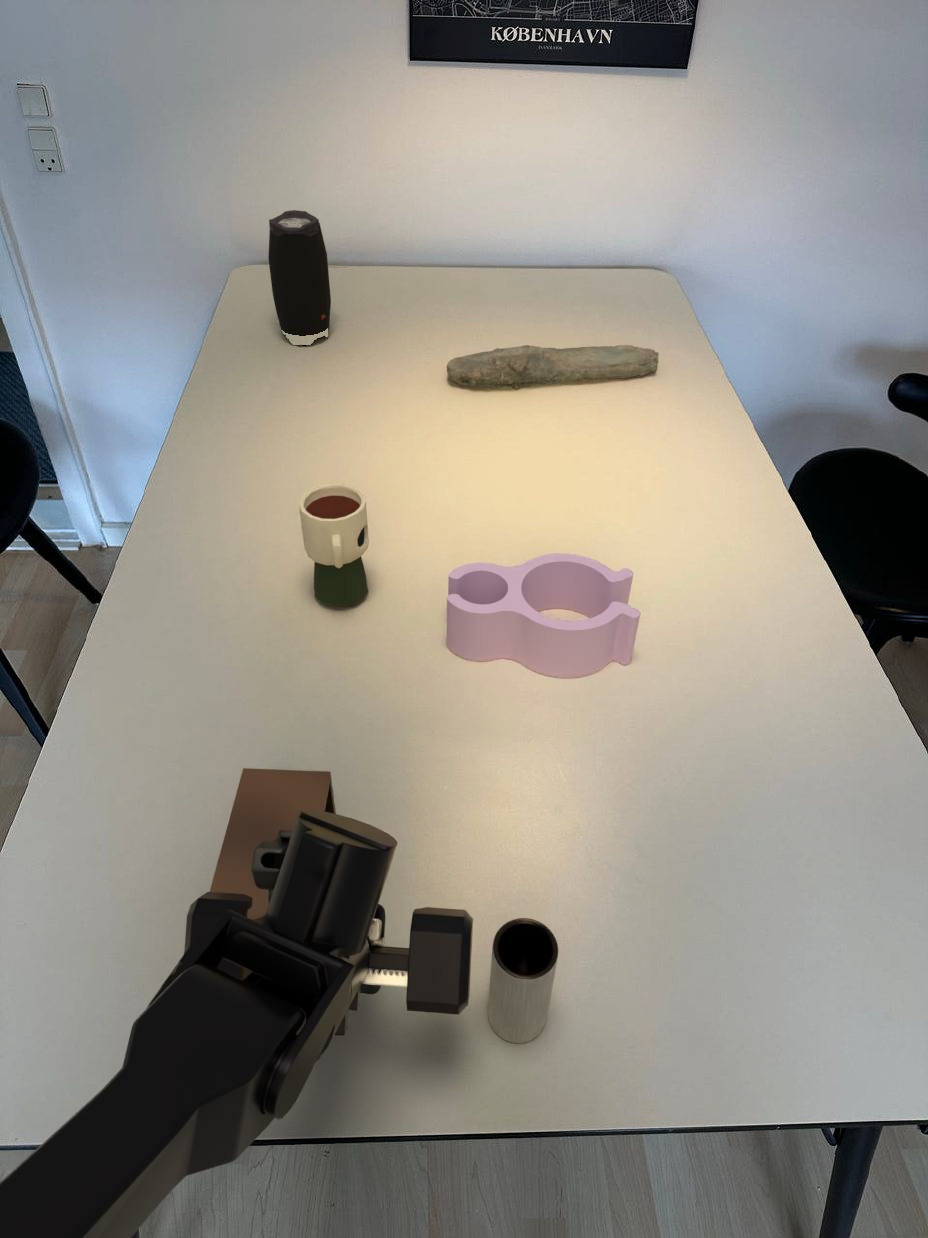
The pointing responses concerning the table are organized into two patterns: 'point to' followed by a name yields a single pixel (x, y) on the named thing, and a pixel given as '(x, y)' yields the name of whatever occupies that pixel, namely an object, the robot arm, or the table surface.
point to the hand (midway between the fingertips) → (352, 919)
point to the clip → (514, 629)
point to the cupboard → (265, 824)
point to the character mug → (336, 542)
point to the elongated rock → (550, 365)
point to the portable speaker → (299, 273)
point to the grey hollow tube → (521, 979)
